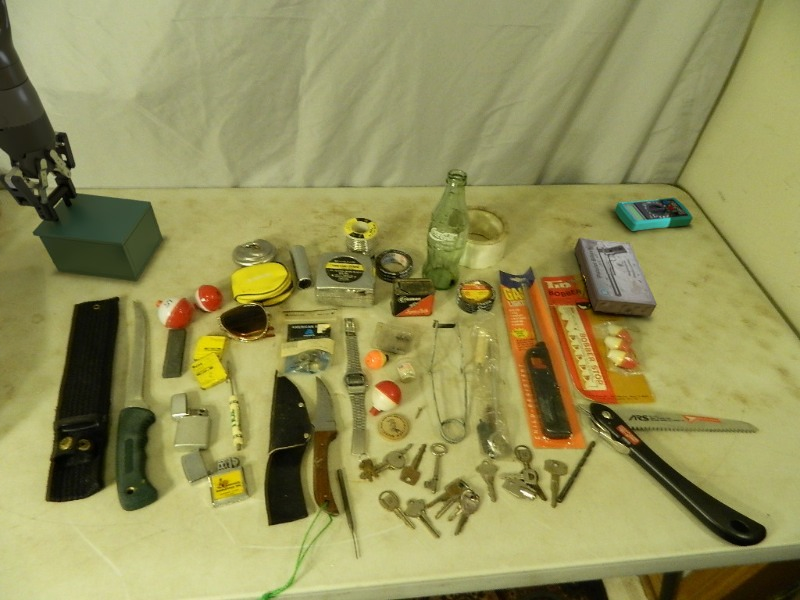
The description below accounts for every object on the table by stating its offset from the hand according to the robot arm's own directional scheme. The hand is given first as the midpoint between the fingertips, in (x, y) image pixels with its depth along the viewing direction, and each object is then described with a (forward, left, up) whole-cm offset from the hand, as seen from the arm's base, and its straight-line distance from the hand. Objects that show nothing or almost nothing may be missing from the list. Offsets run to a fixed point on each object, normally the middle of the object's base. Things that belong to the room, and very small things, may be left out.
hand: (60, 207), depth 87 cm
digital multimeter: (+104, +43, -10) cm, 112 cm away
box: (+94, +20, -10) cm, 96 cm away
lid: (+5, +1, -2) cm, 5 cm away
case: (+6, +1, -9) cm, 11 cm away
